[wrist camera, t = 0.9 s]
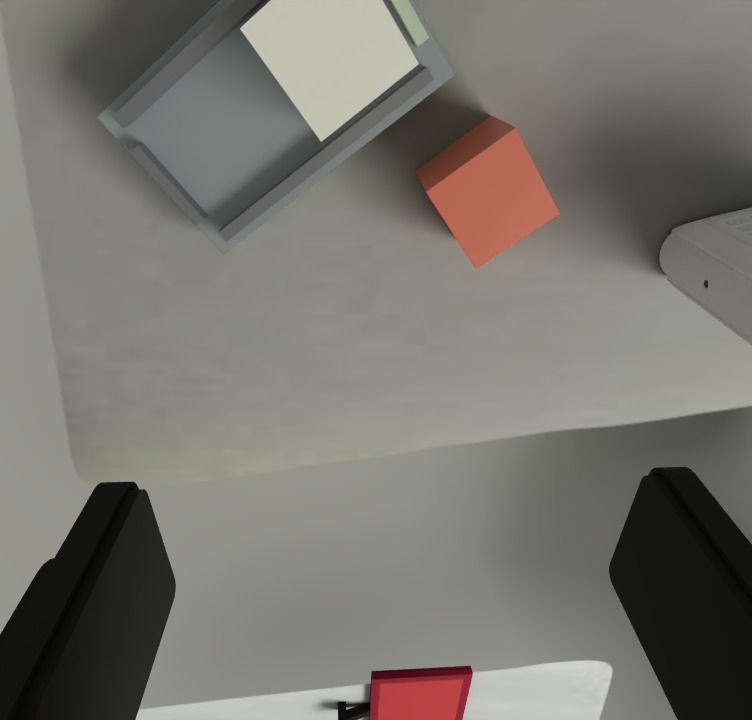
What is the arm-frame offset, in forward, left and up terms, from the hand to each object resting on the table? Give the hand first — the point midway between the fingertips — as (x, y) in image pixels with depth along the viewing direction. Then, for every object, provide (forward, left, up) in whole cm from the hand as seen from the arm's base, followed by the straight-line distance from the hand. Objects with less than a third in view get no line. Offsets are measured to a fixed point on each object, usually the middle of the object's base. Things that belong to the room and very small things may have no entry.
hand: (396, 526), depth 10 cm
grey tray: (0, -7, -24) cm, 25 cm away
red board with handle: (+36, +56, -25) cm, 71 cm away
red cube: (-6, +3, -24) cm, 25 cm away
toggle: (-4, -7, -21) cm, 22 cm away
